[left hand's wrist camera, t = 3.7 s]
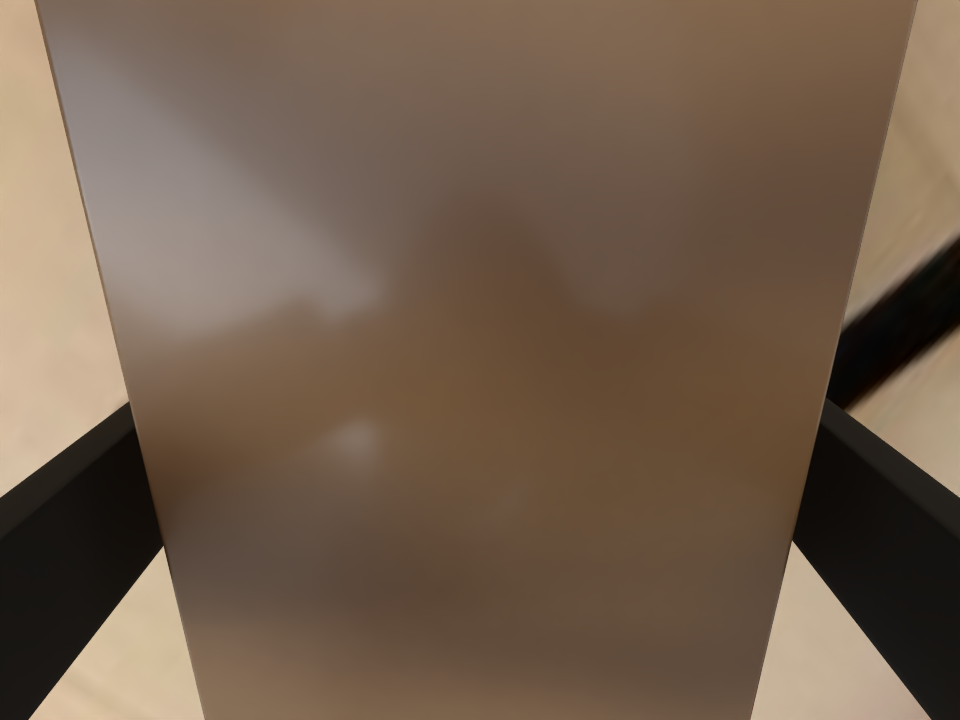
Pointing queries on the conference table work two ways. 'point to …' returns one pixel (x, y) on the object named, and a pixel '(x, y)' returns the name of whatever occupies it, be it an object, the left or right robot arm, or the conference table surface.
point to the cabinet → (476, 331)
